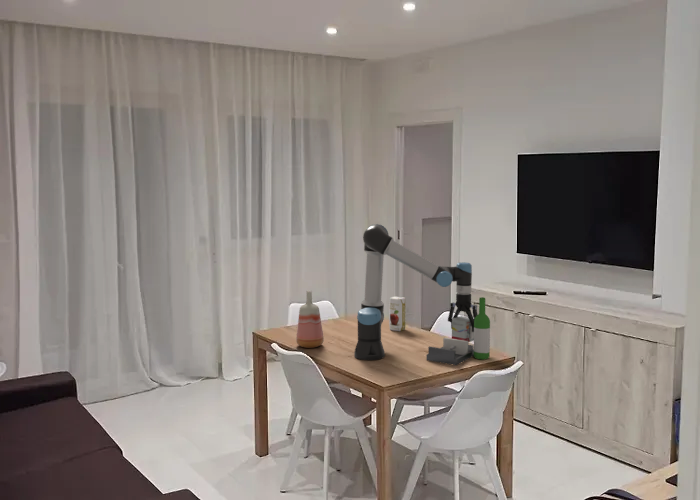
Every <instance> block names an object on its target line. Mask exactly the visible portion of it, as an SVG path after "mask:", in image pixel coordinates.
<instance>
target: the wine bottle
mask: <svg viewBox="0 0 700 500" xmlns="http://www.w3.org/2000/svg"><path fill="white" fill-rule="evenodd" d="M478 302H479V303H478V307H479V308H478V313H477V314H478V315H477V316H476V317H475V319H474V341H473V349H474V356H473V358H474V359H475V360H476V359H477V360H480V359H481V360H483V361H484V359H485V360H488V359H489V358H490V353H491V352H490V350H491V349H490V348H491V345H490V344H491V342H490V341H491V339H490V338H491V321H490V318H489V316H488V315H487V314H486V297H484V296H483V297H479V300H478Z"/></svg>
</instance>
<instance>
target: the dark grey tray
mask: <svg viewBox="0 0 700 500" xmlns="http://www.w3.org/2000/svg"><path fill="white" fill-rule="evenodd" d="M427 349H428V352H427V353H426V361H428V360H429V361H428V362H435V363H440V362H441V364H445V363H447V365H451V364H453V365H452V366H458V365H460V364H462V363H463V361H464V362H465V361H467V360H469V359H471V358H474V344H468V353H466V354H464V355H460V354H456V351H455V350H448V349H443V346H441V347H436V346H435V347H434V346H428V348H427ZM461 362H462V363H461ZM459 363H460V364H459Z"/></svg>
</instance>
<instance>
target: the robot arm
mask: <svg viewBox="0 0 700 500" xmlns="http://www.w3.org/2000/svg"><path fill="white" fill-rule="evenodd" d="M362 239H363V243H364V244H363V245H364V247H363V250H364V252H365V254H366V262H365V285H364V286H365V287H364V299H363V301H361V303H360V304H361V305H360V309H359V310H358V311H357V316H356V319H357V343H356V345H355V349H354V352H353V353H354V358H355V359H359V360H364V361H376V360H381V359H384V358H385V355H386V354H385V352H386V351H385V349H384V346H383V343H382V324H383V322H384V320H385V319H384V318H385V314H384V306H385V305H384V304H385V303H384V302H383V301H382V291H383V273H384V256H386V255H387V256H389V257H390V258H391V259H394V260H395V261H398V262H399V263H402V264H403V265H404V266H406V267H409V268H411V269H412V270H413V271H416V272H417V273H419V274H421V275H422V276H425V277H426V278H428V279H430V280H432V281H433V282H435V283H437V284H438V285H439V286H440V287H442V288H444V287H445V288H446V287H449V286H450V285H451V284H452V282H453V283H454V282H456V283H455V284H456V286H455V287H456V289H455V290H456V291H455V292H456V294H455V295H456V297H455V301H456V302H450V304H449V305H450V309H449V313H448V317H447V322H450V328H451V330H452V318H456V317H459V316H460V315H459V314H460V313H461V312H463V313H465V314H466V315H467V317H468V318H469V320H470V322H471V326H470V339H472V338H474V319H475V317H476V316H477V315H478V314H479V313H478V305H477V304H476V305H474V304H472V276H473V272H472V270H473V269H472V267H473V266H472V264H471V263H470V262H457V263H456V266H441V265H438V264H436V263H435V262H433V261H430V260H429V259H428V258H426V257H423V256H422V255H420V254H418V253H416V252H414V251H412V249H409V248H407V247H406V246H404V245H402V244H400V243H398V242H397V241H395V240H394V238H393V237H392V236H390V235H389V232H388V229H387V228H386V227H385V226H383V225H382V224H378V223H377V224H376V223H375V224H374V223H373V224H371V225H370V226H368V227H367V228H366V229H365V231H364V232H363V236H362ZM455 307H456V311H455ZM471 309H472V311H471ZM454 312H455V313H454Z"/></svg>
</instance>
